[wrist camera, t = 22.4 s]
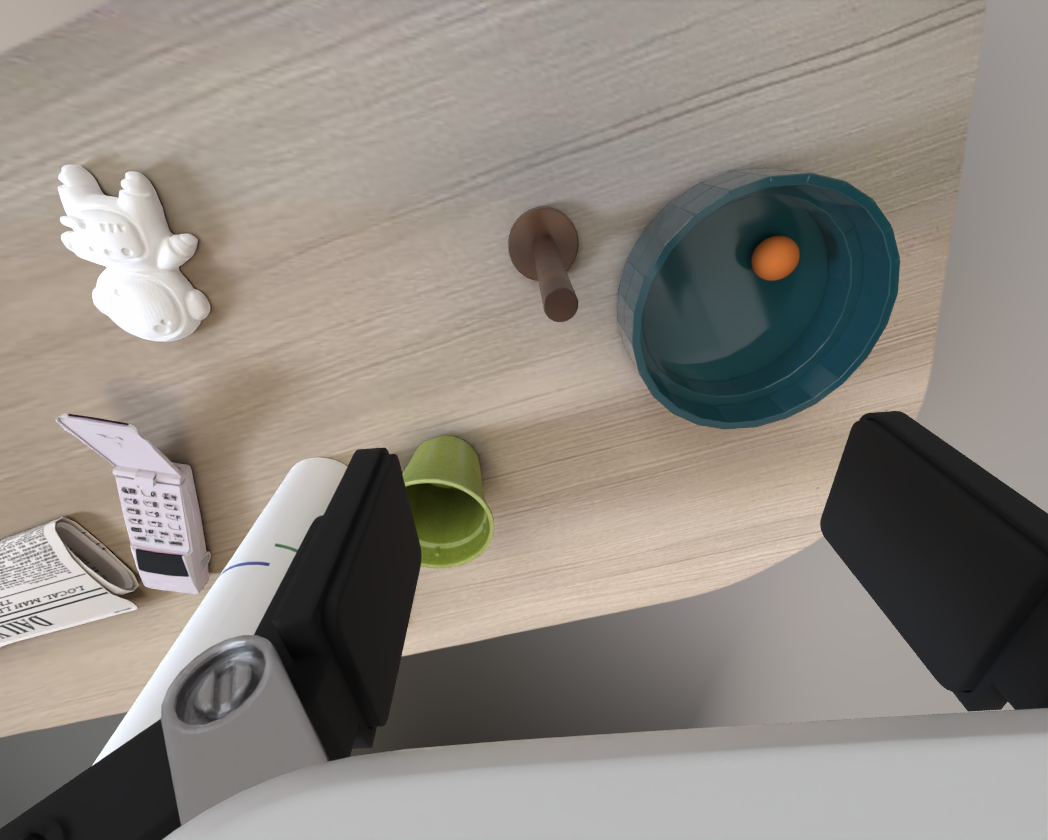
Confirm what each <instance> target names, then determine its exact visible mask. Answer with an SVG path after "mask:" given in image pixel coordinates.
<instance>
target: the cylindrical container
mask: <svg viewBox="0 0 1048 840" xmlns="http://www.w3.org/2000/svg"><path fill="white" fill-rule="evenodd" d="M347 467H348V466H346V465H344V464H343V463H341V462H338V461H336V460H332V459H329V458H321V457H317V458H309V459H305V460H302V461H300V462H298V463H297V464H296V465H294V466H293V468H292V469H291V470H290V471H289V473H288V474H287V476H286V477H285V479H284V480H283V482H282V483H281V485H280V486H279V488H278V489H277V491H276V492H275V494H274V495H273V497H272V498H271V500H270V501H269V503H268V504H267V506H266V507H265V509H264V510H263V512H262V513H261V515H260V516H259V518H258V519H257V521H256V522H255V524H254V525H253V527H252V528H251V530H250V531H249V533H248V534H247V536H246V537H245V539H244V540H243V542H242V543H241V545H240V546H239V548H238V549H237V550H236V552H235V553H234V555H233V556H232V558H231V559H230V561H229V562H228V564H227V565H226V567H225V568H224V570H223V571H222V573H221V574H220V576H219V578H218V579H217V580H216V582H215V583H214V585H213V586H212V588H211V589H210V591H209V592H208V594H207V595H206V597H205V598H204V600H203V601H202V603H201V604H200V606H199V607H198V609H197V610H196V612H195V613H194V615H193V616H192V618H191V619H190V621H189V622H188V624H187V625H186V627H185V628H184V630H183V631H182V633H181V634H180V636H179V637H178V638H177V640H176V641H175V643H174V644H173V646H172V647H171V649H170V650H169V652H168V653H167V655H166V656H165V658H164V659H163V661H162V662H161V664H160V665H159V667H158V668H157V670H156V671H155V673H154V674H153V676H152V677H151V679H150V680H149V682H148V683H147V685H146V686H145V688H144V689H143V691H142V692H141V694H140V695H139V697H138V698H137V700H136V701H135V703H134V704H133V706H132V707H131V709H130V710H129V712H128V713H127V715H126V716H125V717H124V719H123V721H122V722H121V723H120V725H119V726H118V728H117V729H116V731H115V733H114V734H113V735H112V737H111V738H110V740H109V741H108V743H107V744H106V746H105V747H104V749H103V750H102V752H101V753H100V755H99V756H98V758H97V759H96V761H95V762H94V764H95V763H97V762H98V761H100V760H101V759H103V758H104V757H106V756H107V755H109V754H110V753H111V752H113V751H114V750H116V749H117V748H119V747H120V746H122V745H123V744H125V743H126V742H127V741H129V740H130V739H132V738H133V737H135V736H136V735H138V734H139V733H141V732H142V731H143V730H145V729H146V728H148V727H149V726H151V725H152V724H154V723H155V722H157V721H158V720H159V719H161V705H162V702H163V700H164V697H165V695H166V692H167V690H168V688H169V686H170V685H171V684H172V682H173V681H174V679H175V678H176V676H177V675H178V674H179V672H180V671H181V670H182V669H183V668H184V667H186V666H187V665H188V664H189V663H190V662H191V661H192V660H193V659H194V658H195V657H197V656H198V655H199V654H201V653H202V652H204V651H205V650H207V649H208V648H209V647H211V646H213V645H215V644H218V643H220V642H222V641H224V640H226V639H229V638H233V637H237V636H241V635H254V633H255V631H256V629H257V628H258V626H259V624H260V622H261V620H262V618H263V616H264V614H265V612H266V610H267V608H268V606H269V604H270V603H271V601H272V599H273V597H274V595H275V593H276V591H277V589H278V587H279V585H280V583H281V581H282V579H283V578H284V576H285V574H286V572H287V570H288V568H289V566H290V564H291V562H292V560H293V558H294V556H295V554H296V553H297V551H298V549H299V547H300V545H301V543H302V541H303V539H304V537H305V535H306V533H307V531H308V529H309V528H310V526H311V524H312V522H313V521H314V520H315V518H317V517H319V516H322V515H324V513H325V511H326V509H327V507H328V505H329V503H330V501H331V499H332V497H333V495H334V493H335V491H336V489H337V487H338V485H339V483H340V481H341V479H342V477H343V475H344V473H345V471H346V469H347ZM94 764H93V765H94ZM93 765H92V766H93Z"/></svg>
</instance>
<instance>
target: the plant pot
mask: <svg viewBox="0 0 1048 840" xmlns="http://www.w3.org/2000/svg"><path fill="white" fill-rule="evenodd" d="M402 475H403V479H404V483H405V487H406V491H407V495H408V498H409V502H410V506H411V510H412V514H413V518H414V522H415V526H416V530H417V534H418V538H419V542H420V546H421V554H422V558H421V567H426V568H451V567H455V566H460V565H464V564H466V563H468V562H470V561H472V560H474V559H476V558H477V557H479V556H480V555H481V554H482V553H483V552H484V551H485V550H486V549H487V548H488V546H489V545H490V543H491V541H492V539H493V535H494V519H493V515H492V512H491V510H490V508H489V506H488V505H487V503H486V501H485V499H484V494H483V486H482V479H481V470H480V461H479V458H478V456H477V454H476V452H475V451H474V449H473V447H472V446H471V445H470V444H469V443H467V442H466V441H464V440H462V439H460V438H457V437H453V436H447V435H442V436H438V437H435V438H432V439H430V440H426V441H424V442H423V443H421V444H420V446H419V447H418V448H417V450H416V451H415V453H414V455H413V457H412V459H411V460H410V462H409V464H408V466H407V467H406V469H405V471H404V472H403V474H402Z"/></svg>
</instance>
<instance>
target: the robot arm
mask: <svg viewBox="0 0 1048 840" xmlns="http://www.w3.org/2000/svg"><path fill="white" fill-rule="evenodd" d="M820 525H821V531H822V533H823V535H824V537H825V538H826V540H827V541H828V542H829V543H830V545H831V546H832V547H833V549H834V550H835V551H836V552H837V554H838V555H839V556H840V558H841V559H842V560H843V561H844V563H845V564H846V565H847V566H848V568H849V569H850V570H851V572H852V573H853V574H854V575H855V577H856V578H857V579H858V580H859V582H860V583H861V584H862V586H863V587H864V588H865V589H866V591H867V592H868V593H869V595H870V596H871V597H872V598H873V599H874V601H875V602H876V603H877V605H878V606H879V607H880V609H881V610H882V611H883V612H884V614H885V615H886V616H887V617H888V619H889V620H890V621H891V623H892V624H893V625H894V626H895V628H896V629H897V630H898V632H899V633H900V634H901V635H902V636H903V638H904V639H905V640H906V642H907V643H908V644H909V646H910V647H911V648H912V649H913V651H914V652H915V653H916V655H917V656H918V657H919V658H920V660H921V661H922V662H923V663H924V665H925V666H926V667H927V669H928V670H929V671H930V672H931V674H932V675H933V676H934V677H935V679H936V680H937V681H938V682H939V683H940V684H941V685H942V686H943V687H944V688H946V689H947V690H950V691H952V692H953V693H954V694H955V695H956V697H957V698H958V699H959V701H960V702H961V703H962V704H963V706H964V707H965V708H966V709H967V711H983V710H999V709H1002V708H1003V706H1004V705H1005V704H1006V703H1007V702H1009V703H1010V704H1011V705H1012V707H1013V708H1014V709H1015V710H1005V711H987V712H969V713H952V714H951V713H950V714H932V715H915V716H898V717H897V716H895V717H879V718H862V719H845V720H827V721H810V722H794V723H777V724H761V725H745V726H728V727H711V728H695V729H680V730H663V731H649V732H633V733H619V734H603V735H589V736H588V735H587V736H572V737H557V738H542V739H528V740H511V741H499V742H488V743H476V744H464V745H453V746H440V747H428V748H416V749H404V750H397V751H390V752H382V753H375V754H368V755H360V756H353V757H350V755H351V751H352V749H354V748H370V747H372V745H373V741H374V737H375V732H376V728H377V726H384V725H385V724H386V722H387V720H388V716H389V711H390V706H391V702H392V697H393V693H394V688H395V683H396V679H397V674H398V669H399V665H400V660H401V655H402V651H403V646H404V641H405V637H406V632H407V627H408V623H409V618H410V613H411V609H412V604H413V599H414V594H415V590H416V585H417V580H418V576H419V571H420V566H421V558H422V554H421V546H420V542H419V538H418V534H417V530H416V526H415V522H414V518H413V514H412V510H411V506H410V502H409V498H408V495H407V491H406V487H405V483H404V479H403V475H402V471H401V467H400V463H399V459H398V457H397V455H396V454H389V452H388V450H387V449H386V448H373V449H359V450H356V452H355V453H354V455H353V457H352V459H351V461H350V463H349V465H348V467H347V469H346V471H345V473H344V475H343V477H342V479H341V481H340V483H339V485H338V487H337V489H336V491H335V493H334V495H333V497H332V499H331V501H330V503H329V505H328V507H327V509H326V511H325V513H324V515H322V516H319V517H317V518H315V520H314V521H313V522H312V524H311V526H310V528H309V529H308V531H307V533H306V535H305V537H304V539H303V541H302V543H301V545H300V547H299V549H298V551H297V553H296V554H295V556H294V558H293V560H292V562H291V564H290V566H289V568H288V570H287V572H286V574H285V576H284V578H283V579H282V581H281V583H280V585H279V587H278V589H277V591H276V593H275V595H274V597H273V599H272V601H271V603H270V604H269V606H268V608H267V610H266V612H265V614H264V616H263V618H262V620H261V622H260V624H259V626H258V628H257V629H256V631H255V633H254V635H241V636H237V637H233V638H229V639H226V640H224V641H222V642H220V643H218V644H215V645H213V646H211V647H209V648H208V649H207V650H205V651H204V652H202V653H201V654H199V655H198V656H197V657H195V658H194V659H193V660H192V661H191V662H190V663H189V664H188V665H187V666H186V667H184V668H183V669H182V670H181V671H180V672H179V674H178V675H177V676H176V678H175V679H174V681H173V682H172V684H171V685H170V686H169V688H168V690H167V692H166V695H165V697H164V700H163V702H162V705H161V719H159V720H158V721H157V722H155V723H154V724H152V725H151V726H149V727H148V728H146V729H145V730H143V731H142V732H141V733H139V734H138V735H136V736H135V737H133V738H132V739H130V740H129V741H127V742H126V743H125V744H123V745H122V746H120V747H119V748H117V749H116V750H114V751H113V752H111V753H110V754H109V755H107V756H106V757H104V758H103V759H101V760H100V761H98V762H97V763H95V764H94V765H93V766H91V767H90V768H88V769H87V770H85V771H84V772H82V773H81V774H79V775H78V776H77V777H75V778H74V779H72V780H71V781H69V782H68V783H66V784H65V785H63V786H62V787H61V788H59V789H58V790H56V791H55V792H53V793H52V794H50V795H49V796H47V797H46V798H45V799H43V800H42V801H40V802H39V803H37V804H36V805H34V806H33V807H31V808H30V809H29V810H27V811H26V812H24V813H23V814H21V815H20V816H18V817H17V818H16V819H14V820H13V821H11V822H10V823H8V824H7V825H5V826H4V827H2V828H1V829H0V840H1048V514H1047V513H1046V512H1045V511H1043V510H1042V509H1040V508H1039V507H1037V506H1036V505H1035V504H1033V503H1032V502H1030V501H1029V500H1027V499H1026V498H1025V497H1023V496H1022V495H1020V494H1019V493H1017V492H1016V491H1015V490H1013V489H1012V488H1010V487H1009V486H1007V485H1006V484H1005V483H1003V482H1002V481H1000V480H999V479H997V478H996V477H995V476H993V475H992V474H990V473H989V472H987V471H986V470H985V469H983V468H982V467H980V466H979V465H978V464H976V463H975V462H973V461H972V460H970V459H969V458H967V457H966V456H965V455H963V454H962V453H960V452H959V451H958V450H956V449H955V448H953V447H952V446H950V445H949V444H948V443H946V442H945V441H943V440H942V439H940V438H939V437H938V436H936V435H934V434H933V433H932V432H930V431H929V430H928V429H926V428H925V427H923V426H922V425H920V424H919V423H918V422H916V421H915V420H913V419H912V418H910V417H909V416H908V415H906V414H904V413H902V412H900V411H891V412H877V413H867V414H865V415H863V416H862V417H861V418H860V420H859V421H857V422H855V423H854V424H853V426H852V428H851V431H850V434H849V437H848V440H847V443H846V446H845V449H844V452H843V455H842V458H841V461H840V464H839V467H838V470H837V473H836V476H835V479H834V482H833V485H832V488H831V490H830V493H829V496H828V499H827V502H826V505H825V508H824V511H823V514H822V517H821V522H820Z"/></svg>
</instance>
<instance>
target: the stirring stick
mask: <svg viewBox="0 0 1048 840" xmlns="http://www.w3.org/2000/svg"><path fill="white" fill-rule="evenodd" d="M577 251H578V236H577V232H576V229H575V227H574V225H573V224H572V222H571V221H570V219H569V218H568V217H567V216H566V215H565V214H564V213H562V212H561V211H559V210H557V209H554V208H550V207H537V208H533V209H531V210H528V211H527V212H525V213H524V214H522V215H521V216H520V217H519V218H518V219H517V221H516V222H515V223H514V225H513V227H512V229H511V232H510V235H509V254H510V257H511V260H512V262H513V264H514V266H515V267H516V269H517V270H518V271H519V272H520V273H521V274H523V275H524V276H526V277H528V278H530V279H532V280H536V281H539V286H540V291H541V297H542V302H543V307H544V311H545V314H546V315H547V316H548V317H549V318H550V319H551V320H553V321H556V322H564V321H567V320H569V319H571V318H572V317H573V316H574V315H575V313H576V311H577V309H578V300H577V297H576V294H575V292H574V289H573V287H572V285H571V282H570V280H569V277H568V275H567V272H566V271H567V270H568V269H569V268H570V267H571V265H572V264H573V262H574V260H575V258H576V255H577Z"/></svg>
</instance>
